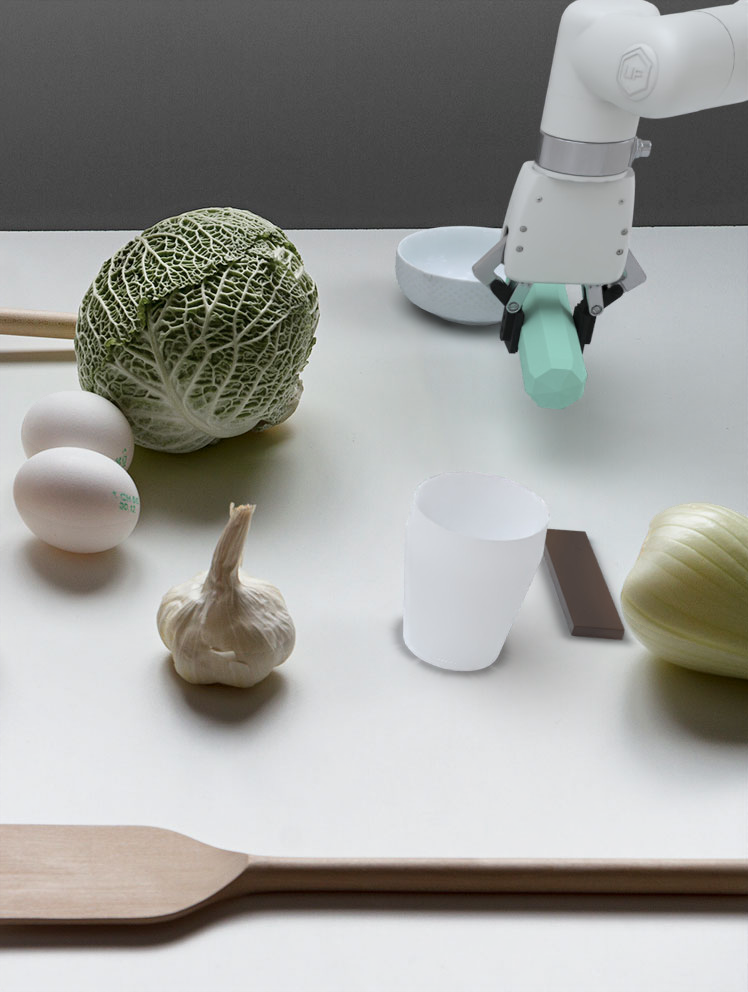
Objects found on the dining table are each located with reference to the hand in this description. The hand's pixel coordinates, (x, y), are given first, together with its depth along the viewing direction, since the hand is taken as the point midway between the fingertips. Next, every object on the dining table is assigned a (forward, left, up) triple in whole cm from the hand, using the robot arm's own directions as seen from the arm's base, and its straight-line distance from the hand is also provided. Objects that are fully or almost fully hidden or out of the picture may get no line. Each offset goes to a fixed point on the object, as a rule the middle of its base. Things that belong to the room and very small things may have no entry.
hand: (542, 347), depth 119 cm
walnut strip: (+1, +29, -7) cm, 30 cm away
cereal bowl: (+2, -23, -7) cm, 24 cm away
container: (0, 0, -1) cm, 1 cm away
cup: (+12, +37, -7) cm, 40 cm away
